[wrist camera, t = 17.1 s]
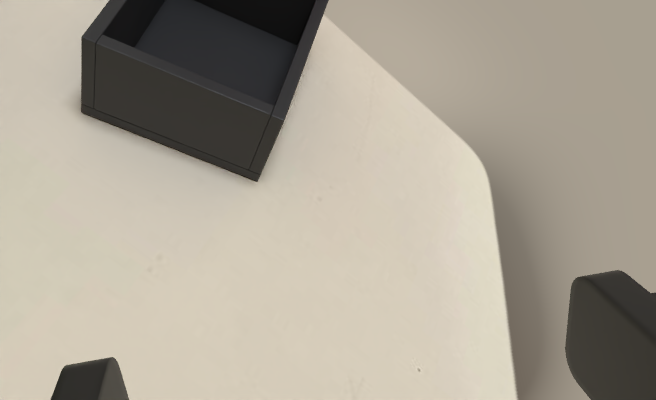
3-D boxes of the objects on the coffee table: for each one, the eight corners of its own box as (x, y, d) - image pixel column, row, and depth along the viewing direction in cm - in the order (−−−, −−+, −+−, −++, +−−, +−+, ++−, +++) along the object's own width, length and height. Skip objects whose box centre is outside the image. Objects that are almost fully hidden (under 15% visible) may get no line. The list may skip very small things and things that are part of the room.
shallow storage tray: (257, 181, 38) (284, 120, 33) (80, 112, 36) (80, 36, 31) (306, 51, 46) (333, -14, 41) (164, -11, 44) (174, -87, 39)
